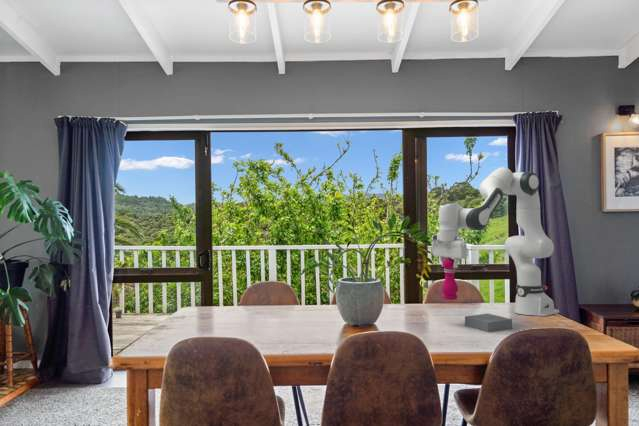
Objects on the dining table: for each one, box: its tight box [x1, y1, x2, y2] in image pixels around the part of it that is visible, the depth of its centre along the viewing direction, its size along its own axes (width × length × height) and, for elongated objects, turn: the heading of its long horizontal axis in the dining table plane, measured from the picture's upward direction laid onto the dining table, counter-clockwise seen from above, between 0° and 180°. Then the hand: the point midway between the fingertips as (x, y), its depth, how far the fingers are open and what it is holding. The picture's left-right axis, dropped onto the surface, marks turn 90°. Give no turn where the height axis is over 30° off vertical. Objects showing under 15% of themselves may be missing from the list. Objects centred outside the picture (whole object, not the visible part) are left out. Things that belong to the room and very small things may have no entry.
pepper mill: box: [441, 257, 459, 301], centre depth 215 cm, size 7×7×20 cm
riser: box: [464, 313, 513, 333], centre depth 210 cm, size 14×14×4 cm
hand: (449, 267), depth 215 cm, fingers closed on pepper mill, 6 cm apart
